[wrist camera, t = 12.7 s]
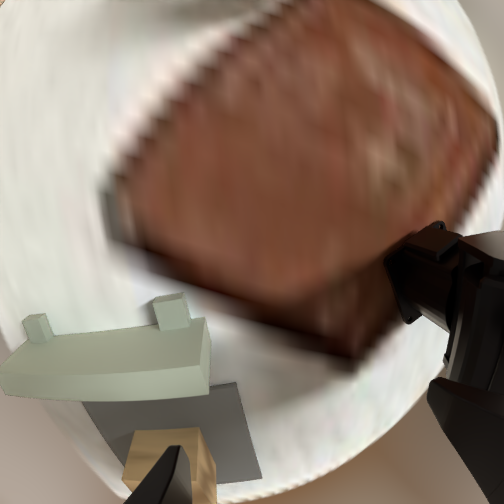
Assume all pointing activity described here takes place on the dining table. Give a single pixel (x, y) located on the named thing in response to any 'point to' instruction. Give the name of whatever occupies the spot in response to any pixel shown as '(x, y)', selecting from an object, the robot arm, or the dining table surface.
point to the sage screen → (114, 359)
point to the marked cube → (154, 445)
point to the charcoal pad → (185, 416)
